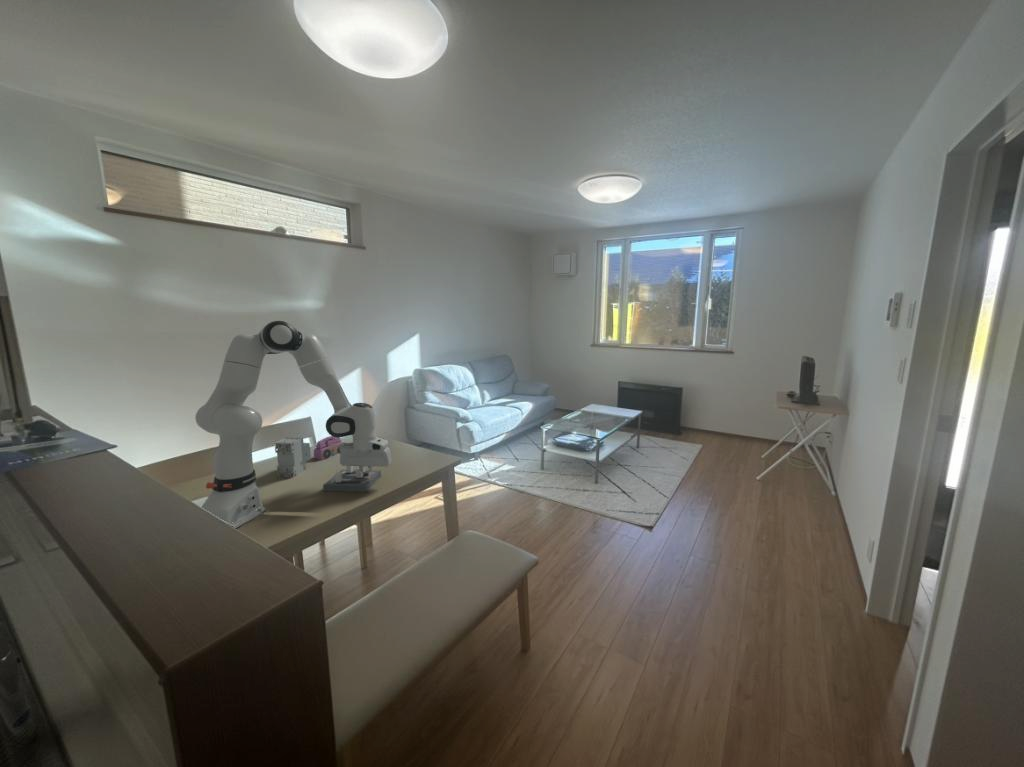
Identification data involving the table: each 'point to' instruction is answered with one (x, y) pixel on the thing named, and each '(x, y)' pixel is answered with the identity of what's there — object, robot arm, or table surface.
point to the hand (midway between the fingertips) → (366, 475)
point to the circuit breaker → (292, 456)
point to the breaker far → (349, 469)
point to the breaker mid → (358, 473)
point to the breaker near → (338, 476)
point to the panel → (352, 482)
